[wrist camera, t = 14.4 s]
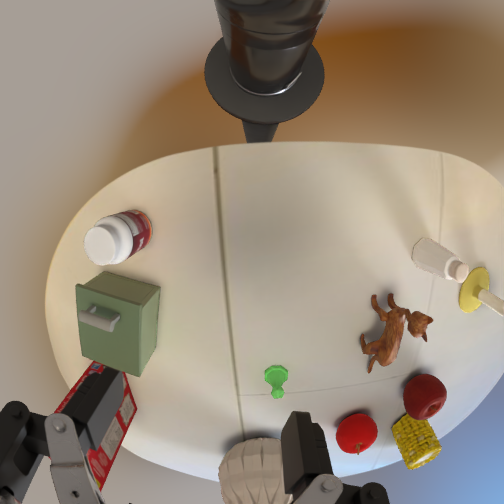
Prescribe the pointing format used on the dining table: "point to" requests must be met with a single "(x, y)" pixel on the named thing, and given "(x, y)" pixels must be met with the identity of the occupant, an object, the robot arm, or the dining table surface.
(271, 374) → the game piece
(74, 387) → the food packaging
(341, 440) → the fruit
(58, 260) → the dining table surface
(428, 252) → the pepper shaker
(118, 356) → the bread bin lid
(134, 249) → the pill bottle
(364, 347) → the cat figurine
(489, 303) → the candle
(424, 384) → the apple
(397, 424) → the food
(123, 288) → the bin
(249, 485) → the vase
